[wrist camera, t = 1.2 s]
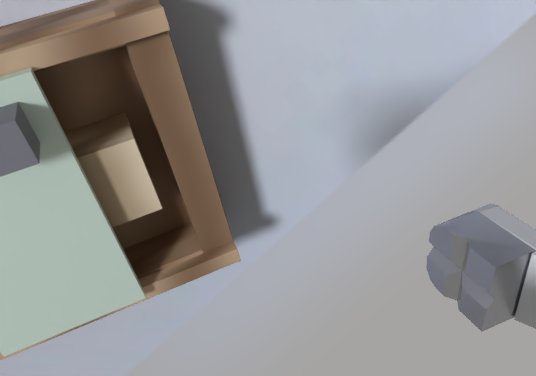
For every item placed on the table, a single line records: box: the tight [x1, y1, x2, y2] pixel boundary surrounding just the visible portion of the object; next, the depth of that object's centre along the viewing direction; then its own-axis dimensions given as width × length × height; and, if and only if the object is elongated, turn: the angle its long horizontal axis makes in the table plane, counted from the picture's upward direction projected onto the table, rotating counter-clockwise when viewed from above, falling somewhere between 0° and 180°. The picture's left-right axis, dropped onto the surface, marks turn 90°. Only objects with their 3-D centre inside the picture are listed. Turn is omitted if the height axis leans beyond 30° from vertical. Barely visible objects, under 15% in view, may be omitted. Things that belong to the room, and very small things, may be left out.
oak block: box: [64, 112, 162, 228], centre depth 25 cm, size 4×4×4 cm
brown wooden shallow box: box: [0, 0, 241, 360], centre depth 25 cm, size 18×16×4 cm
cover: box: [0, 68, 146, 357], centre depth 22 cm, size 8×14×3 cm, turn 11°
